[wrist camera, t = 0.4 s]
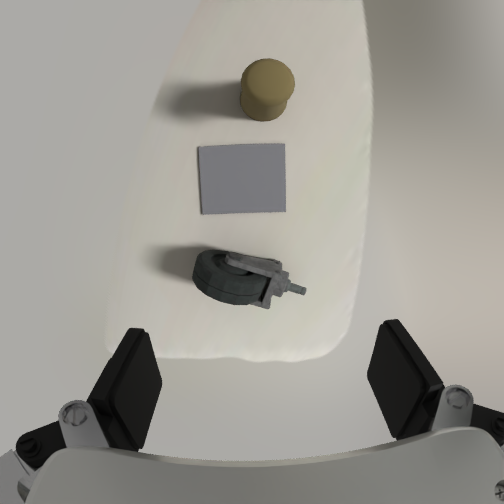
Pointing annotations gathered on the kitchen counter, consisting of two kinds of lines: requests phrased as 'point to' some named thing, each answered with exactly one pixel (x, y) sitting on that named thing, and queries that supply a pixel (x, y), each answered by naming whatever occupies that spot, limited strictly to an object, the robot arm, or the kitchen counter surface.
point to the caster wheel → (241, 278)
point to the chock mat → (242, 178)
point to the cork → (266, 89)
